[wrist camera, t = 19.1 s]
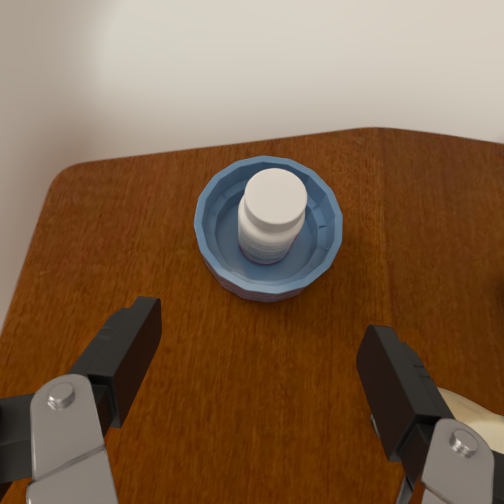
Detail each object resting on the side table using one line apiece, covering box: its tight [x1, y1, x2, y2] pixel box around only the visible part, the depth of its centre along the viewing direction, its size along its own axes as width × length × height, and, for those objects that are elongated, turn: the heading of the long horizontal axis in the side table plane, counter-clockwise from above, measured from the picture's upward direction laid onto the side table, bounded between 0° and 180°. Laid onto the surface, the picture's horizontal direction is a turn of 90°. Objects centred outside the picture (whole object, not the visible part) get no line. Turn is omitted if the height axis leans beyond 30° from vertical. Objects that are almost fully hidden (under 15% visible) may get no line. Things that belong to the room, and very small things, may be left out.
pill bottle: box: [238, 168, 307, 266], centre depth 22 cm, size 5×5×8 cm
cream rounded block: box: [370, 387, 504, 454], centre depth 19 cm, size 6×5×8 cm
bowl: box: [194, 156, 343, 303], centre depth 24 cm, size 11×11×5 cm
